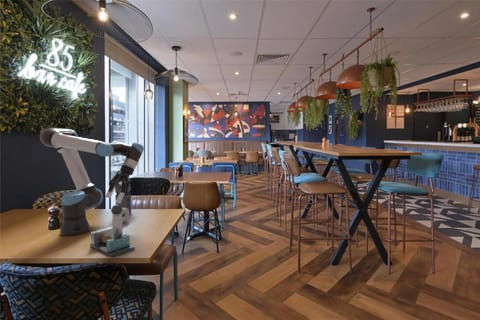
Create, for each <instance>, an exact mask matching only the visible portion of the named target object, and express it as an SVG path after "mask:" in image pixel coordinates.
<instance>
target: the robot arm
mask: <svg viewBox="0 0 480 320" xmlns="http://www.w3.org/2000/svg"><path fill="white" fill-rule="evenodd" d="M39 139H40V140H39V141H40V142H41V144H43V146H45V147H49V148H55V149H56V151H57V153H60V154H61V155H62V157H63V160H64V162H65V165H66V167H67V171H69V175H70V176H71V179H72V181H73V183H74V186H75V188H76V189H75V190H74V191H68V192H66V193H64V194H63V195H62V196H61V209H62V210H61V211H62V212H61V213H62V223H61V226H60V230H59V234H60V236H64V237H70V236H71V237H72V236H79V235H83V234H84V233H88V232H90V230H91V225H90V224H89V222H88V221H89V220H88V218H87V213H86V212H87V211H88V210H91V209H93V208H96V207H98V206H99V205H101V203H102V202H103V200H104V193H103V191H102V190H101V189H98V188H97V187H96V185H95V184H93V183H92V182H91V180H90V177H89V176H88V172H87V170H86V168H85V165H84V164H83V161H82V159H81V157H80V153H79V151H80V152H86V153H90V154H96V155H98V156H100V157H111V156H112V157H113V156H122V157H125V158H124V161H123V163H122V165H121V167H120V169H119V170H118V171H117V173H116V174H115V175H114V176H113V177H112V179H110V181H109V182H108V186H109V188H108V190H107V192H106V194H105V198H108V199H111V198H112V196H113V193H114V192H115V186H116V185H117V184H118V183H119V184H122V189H121V192H120V194H119V196H118V198H117V200H116V199H115V204H116V203H119V204H120V203H121V201H122V199H123V196H124V194H127V192H128V188H129V183H130V181H131V180H132V178H131V177H130V176H133V174H134V172H135V169H136V168H137V166H138V163H139V161H140V160H141V157H142V155H143V152H144V150H145V147H144V145H142V144H141V143H138V142H133V143H132V144H127V143H123V142H121V141H117V140H112V141H111V142H106V141H105V142H104V141H101V140H95V139H90V138H84V137H79V135H78V133H77V132H76V130H73V129H70V128H63V127H62V128H61V127H60V128H58V127H48V128H45V129H44V130H42V131H41V132H40V134H39Z"/></svg>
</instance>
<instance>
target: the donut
mask: <svg viewBox="0 0 480 320" xmlns="http://www.w3.org/2000/svg"><path fill="white" fill-rule="evenodd" d="M123 213H124V216H122V224H125V223H127V221H128V220H129V219H130V215H131V214H130V213H129V210H128V209H127V208H123V211H122V215H123Z"/></svg>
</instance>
